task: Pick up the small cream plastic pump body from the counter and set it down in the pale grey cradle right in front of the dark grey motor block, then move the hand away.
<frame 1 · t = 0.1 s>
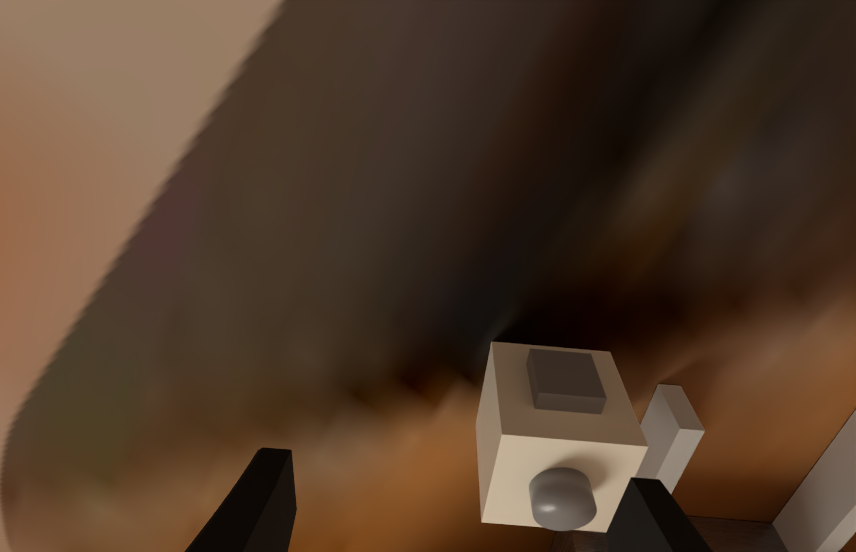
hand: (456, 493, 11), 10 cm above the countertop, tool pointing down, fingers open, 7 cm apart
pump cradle: (731, 461, 25), on the countertop
motor block: (678, 549, 29), on the countertop
pump: (538, 388, 23), on the countertop
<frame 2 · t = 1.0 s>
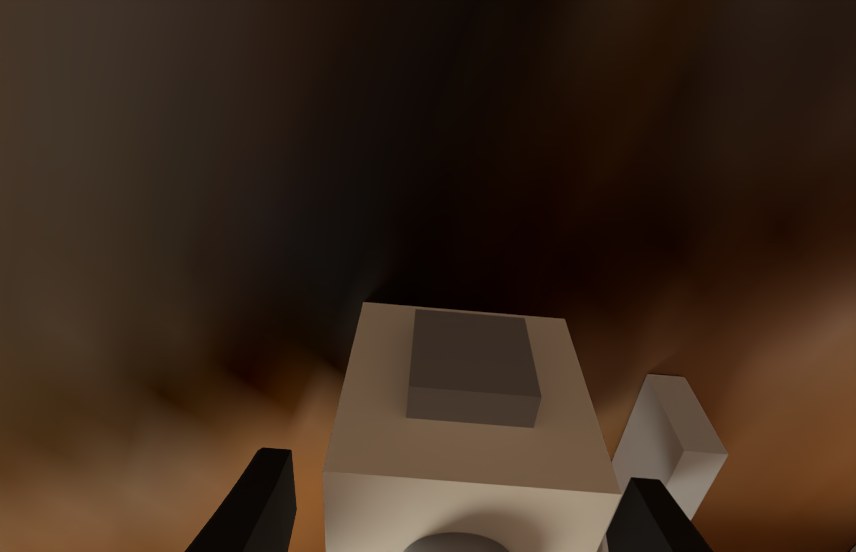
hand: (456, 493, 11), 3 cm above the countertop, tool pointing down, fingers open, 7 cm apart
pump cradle: (763, 496, 16), on the countertop
pump: (453, 383, 14), on the countertop
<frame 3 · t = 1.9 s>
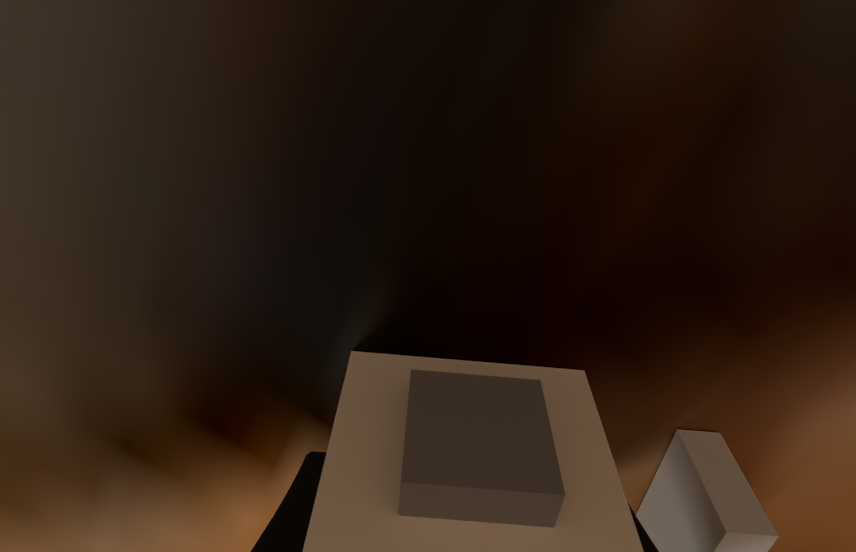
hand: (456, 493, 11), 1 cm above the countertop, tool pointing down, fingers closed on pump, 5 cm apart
pump: (455, 440, 12), on the countertop, touching gripper
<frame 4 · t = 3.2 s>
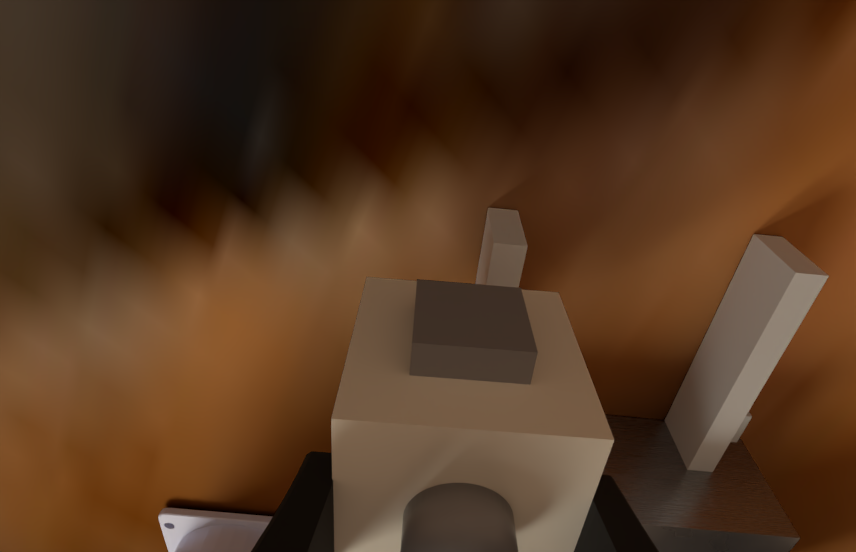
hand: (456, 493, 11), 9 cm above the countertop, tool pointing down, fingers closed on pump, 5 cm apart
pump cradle: (600, 328, 20), on the countertop
motor block: (556, 458, 24), on the countertop
pump: (452, 360, 15), point 5 cm above the countertop, touching gripper
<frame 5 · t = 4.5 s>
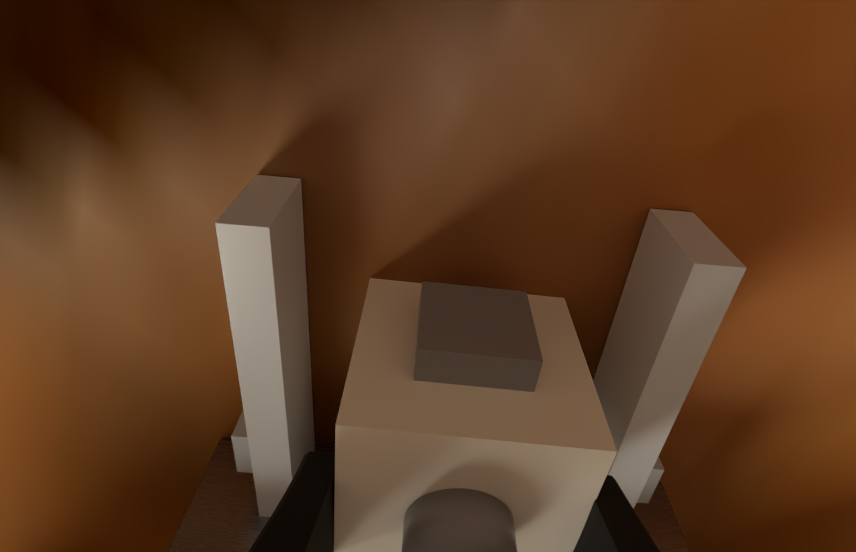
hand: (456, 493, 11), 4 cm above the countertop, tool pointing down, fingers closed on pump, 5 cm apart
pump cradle: (455, 346, 14), on the countertop
motor block: (432, 513, 18), on the countertop
pump: (454, 358, 15), on the countertop, touching gripper
when the fingers open (4 cm above the countertop, at t = 5.1 s): pump stays where it is, on the countertop.
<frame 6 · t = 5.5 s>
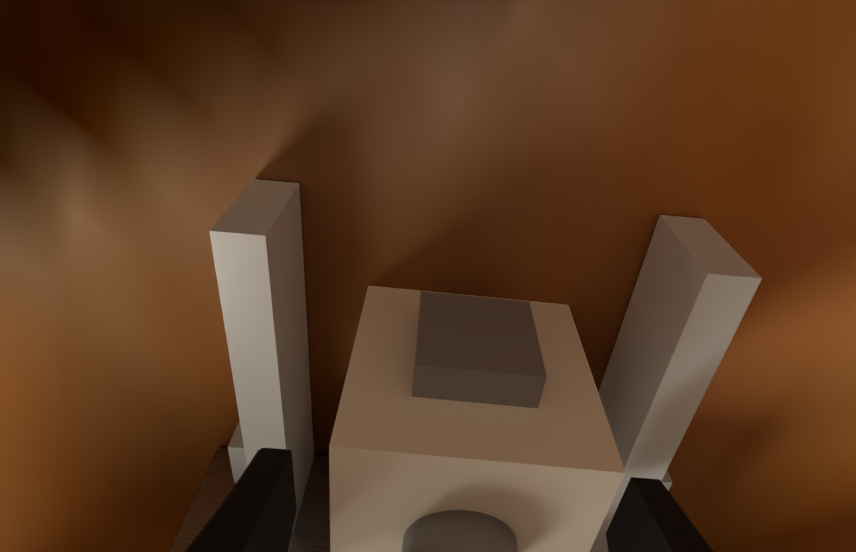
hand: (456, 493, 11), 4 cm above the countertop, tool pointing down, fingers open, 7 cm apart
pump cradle: (458, 354, 14), on the countertop
motor block: (433, 522, 18), on the countertop
pump: (456, 368, 14), on the countertop
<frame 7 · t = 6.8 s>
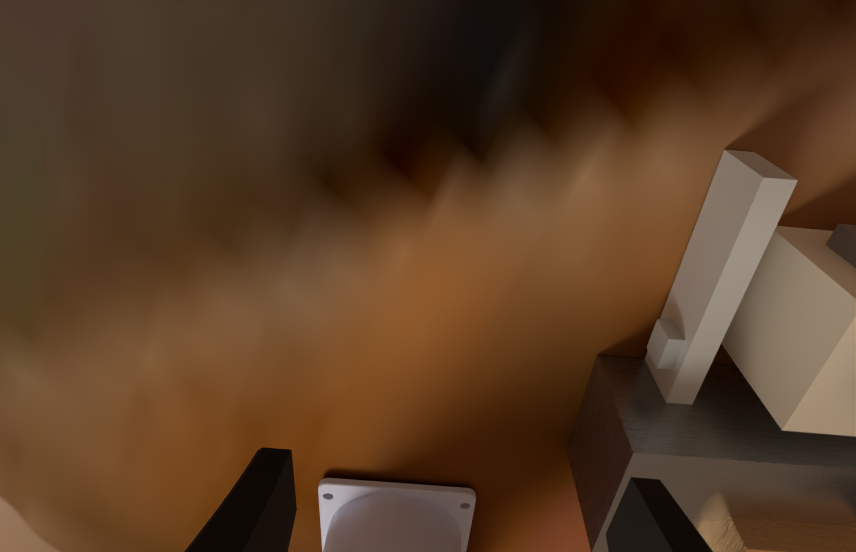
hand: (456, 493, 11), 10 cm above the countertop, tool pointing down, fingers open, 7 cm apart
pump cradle: (812, 277, 19), on the countertop
motor block: (735, 417, 23), on the countertop
pump: (803, 288, 20), on the countertop
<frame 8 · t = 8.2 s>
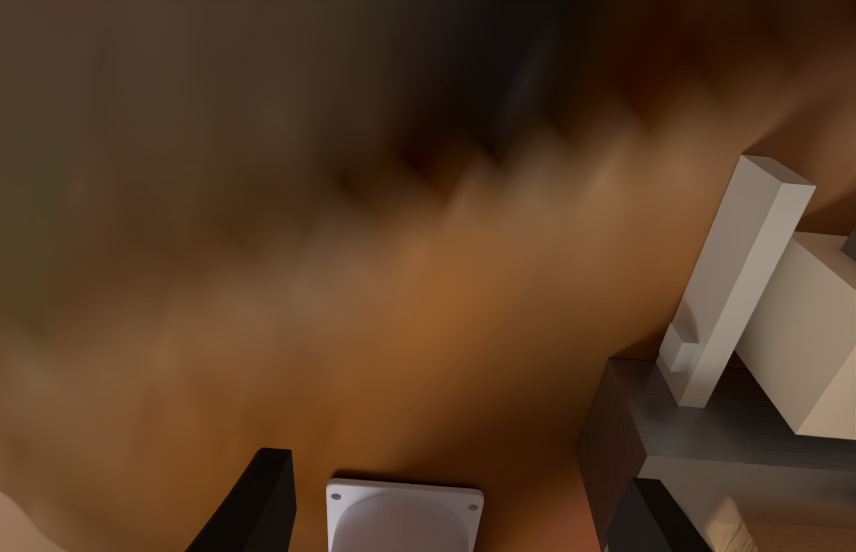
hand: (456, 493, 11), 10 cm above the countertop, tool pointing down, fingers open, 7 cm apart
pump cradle: (824, 282, 20), on the countertop
motor block: (744, 421, 23), on the countertop
pump: (815, 293, 20), on the countertop
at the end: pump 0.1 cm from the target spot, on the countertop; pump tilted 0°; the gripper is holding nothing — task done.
